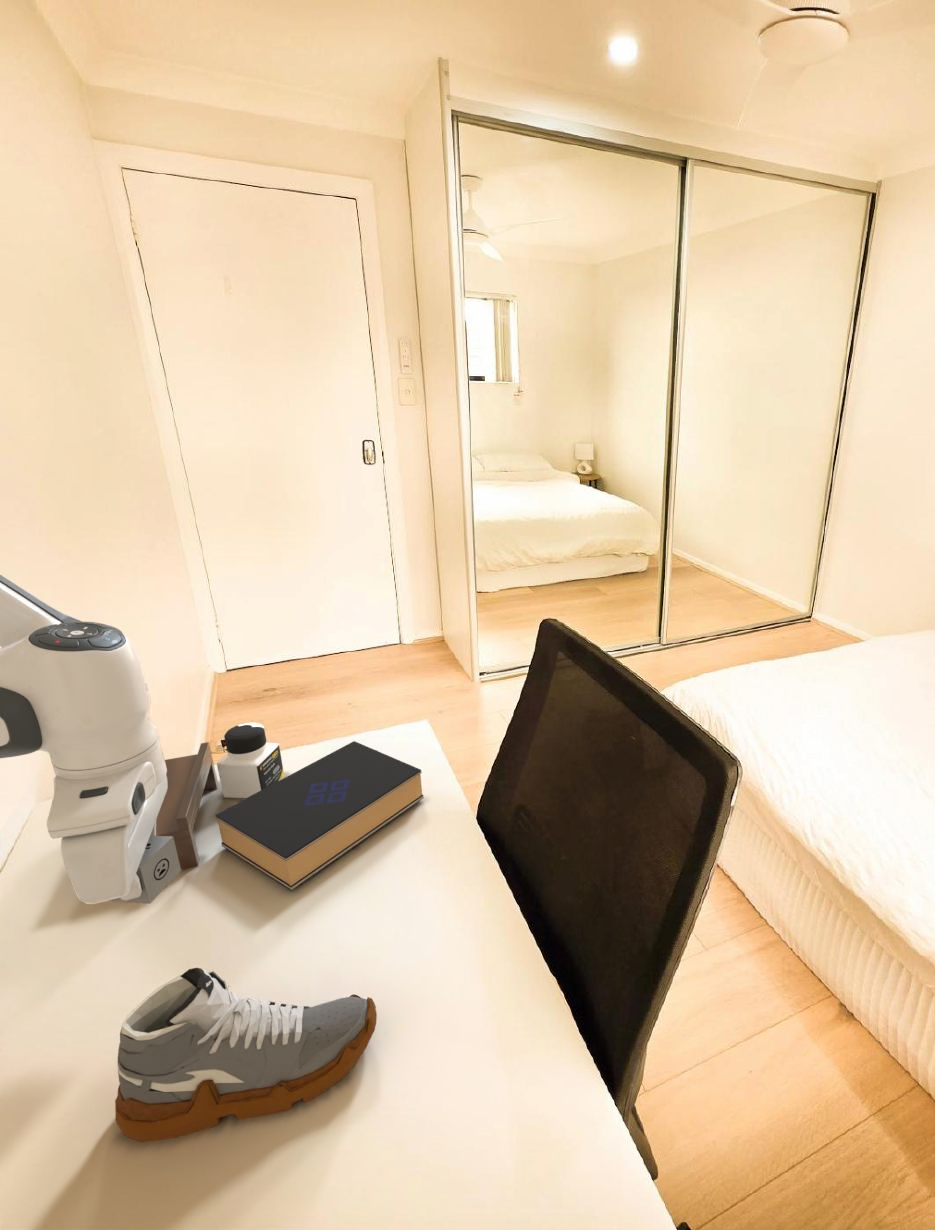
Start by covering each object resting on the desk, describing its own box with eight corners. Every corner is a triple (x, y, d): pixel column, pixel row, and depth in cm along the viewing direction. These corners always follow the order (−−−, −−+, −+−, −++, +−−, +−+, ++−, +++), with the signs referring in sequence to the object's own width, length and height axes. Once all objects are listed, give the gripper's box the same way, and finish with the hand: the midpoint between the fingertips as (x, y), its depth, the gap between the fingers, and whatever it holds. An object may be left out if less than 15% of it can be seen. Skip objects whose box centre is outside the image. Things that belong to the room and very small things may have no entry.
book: (222, 850, 94) (214, 814, 92) (357, 771, 114) (353, 740, 112) (292, 895, 86) (285, 857, 84) (424, 801, 107) (421, 769, 104)
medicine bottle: (263, 799, 106) (252, 740, 101) (223, 798, 106) (210, 738, 101) (285, 775, 112) (275, 719, 108) (247, 774, 112) (235, 717, 108)
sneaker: (376, 1089, 62) (361, 983, 57) (102, 1163, 56) (57, 1050, 51) (382, 1007, 71) (369, 908, 66) (144, 1062, 64) (109, 957, 59)
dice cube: (181, 870, 72) (173, 836, 70) (149, 903, 67) (140, 867, 66) (139, 868, 72) (130, 834, 70) (105, 901, 67) (94, 865, 66)
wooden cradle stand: (97, 891, 85) (81, 839, 82) (137, 800, 104) (124, 755, 101) (198, 867, 90) (186, 817, 87) (218, 785, 109) (208, 741, 106)
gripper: (105, 728, 72) (130, 824, 77) (38, 837, 55) (76, 952, 59) (169, 719, 75) (190, 812, 79) (124, 820, 57) (154, 932, 62)
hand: (141, 873), depth 69 cm, fingers closed on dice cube, 5 cm apart
